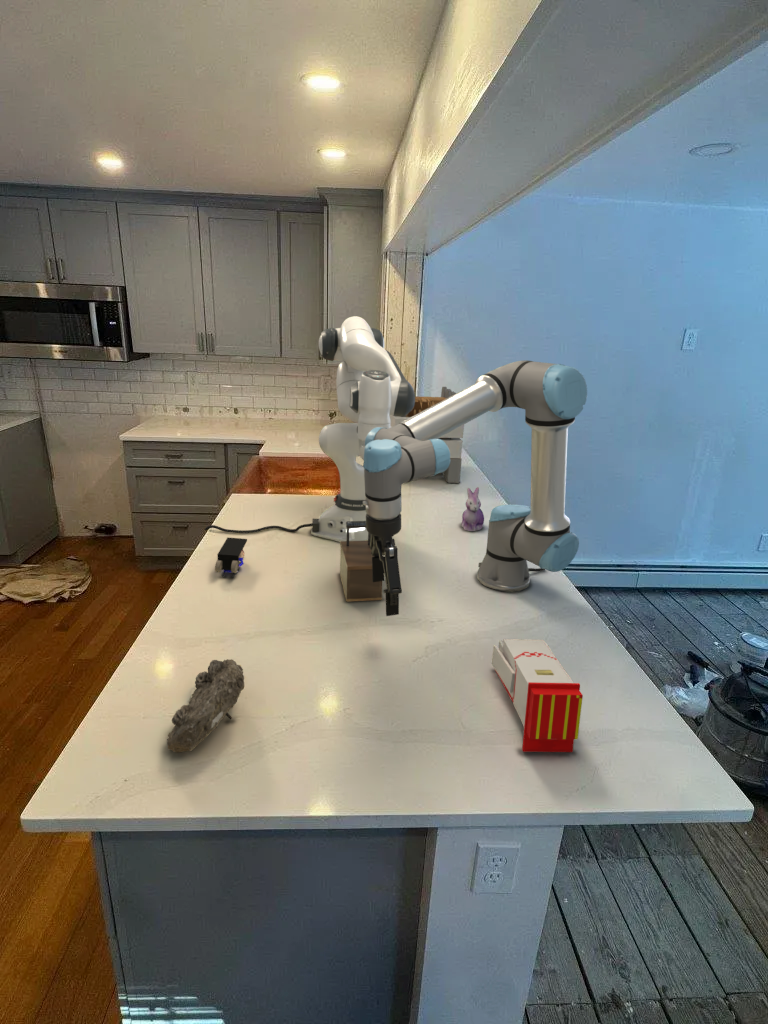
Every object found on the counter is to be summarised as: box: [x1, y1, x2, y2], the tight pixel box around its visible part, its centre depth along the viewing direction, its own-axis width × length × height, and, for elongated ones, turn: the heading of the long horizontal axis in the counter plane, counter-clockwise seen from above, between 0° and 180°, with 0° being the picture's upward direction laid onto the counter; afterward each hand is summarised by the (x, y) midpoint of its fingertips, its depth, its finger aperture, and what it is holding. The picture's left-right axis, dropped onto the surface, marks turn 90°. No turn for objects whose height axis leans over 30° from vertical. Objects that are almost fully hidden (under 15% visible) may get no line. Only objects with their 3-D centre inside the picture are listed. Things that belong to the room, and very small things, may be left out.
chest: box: [339, 546, 384, 603], centre depth 159 cm, size 17×10×9 cm, turn 10°
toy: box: [491, 638, 584, 753], centre depth 114 cm, size 12×13×30 cm
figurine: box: [461, 486, 485, 532], centre depth 206 cm, size 9×10×15 cm
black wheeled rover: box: [214, 537, 248, 578], centre depth 166 cm, size 7×8×15 cm
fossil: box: [166, 658, 245, 754], centre depth 106 cm, size 22×10×15 cm
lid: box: [339, 521, 373, 570], centre depth 157 cm, size 17×10×8 cm, turn 10°
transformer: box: [390, 386, 465, 484], centre depth 268 cm, size 34×33×41 cm
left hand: (372, 481), depth 159 cm, fingers open, 8 cm apart
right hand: (385, 596), depth 129 cm, fingers open, 13 cm apart
